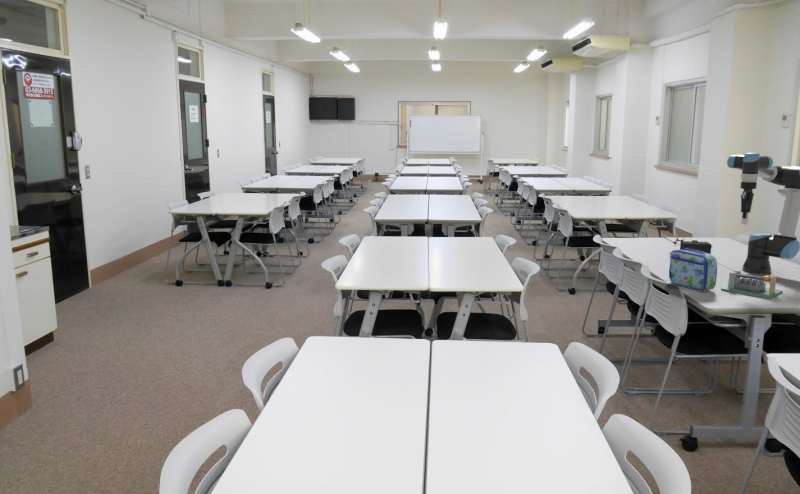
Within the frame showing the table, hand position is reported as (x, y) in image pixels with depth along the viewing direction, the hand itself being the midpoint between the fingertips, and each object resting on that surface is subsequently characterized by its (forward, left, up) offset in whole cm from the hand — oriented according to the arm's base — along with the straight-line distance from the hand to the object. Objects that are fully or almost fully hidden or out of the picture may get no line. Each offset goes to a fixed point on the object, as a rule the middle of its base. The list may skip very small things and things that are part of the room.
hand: (744, 224), depth 331 cm
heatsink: (+11, +10, -34) cm, 37 cm away
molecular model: (-40, -51, -35) cm, 74 cm away
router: (-8, -28, -35) cm, 45 cm away
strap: (+11, +11, -27) cm, 31 cm away
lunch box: (+25, -16, -35) cm, 46 cm away
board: (+11, +10, -34) cm, 38 cm away
